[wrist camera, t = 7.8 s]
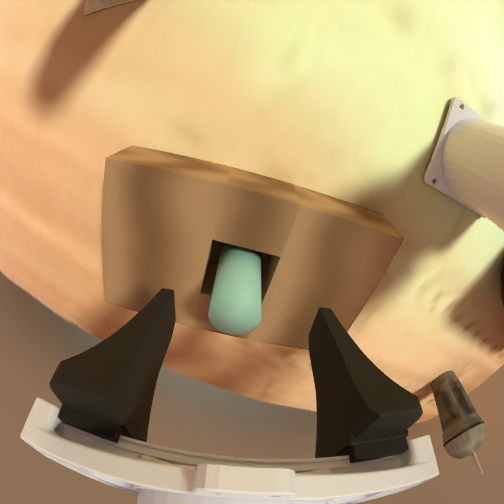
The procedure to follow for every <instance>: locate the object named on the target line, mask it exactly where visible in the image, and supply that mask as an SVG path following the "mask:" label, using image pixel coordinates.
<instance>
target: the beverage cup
mask: <svg viewBox="0 0 504 504" xmlns="http://www.w3.org/2000/svg"><path fill="white" fill-rule="evenodd" d="M432 389H433V394H434V397H435V401H436V405H437V409H438V413H439V417H440V421H441V425H442V430H443V442H444V445H443V446H444V447H445V449H446V451H447V453H448V454H449V455H450V456H452V457H454V458H458V459H462V458H466V457H468V456H470V455H471V454H472V456H473V458H474V461H475V463H476V465H477V468H478V471H479V473H480V475H483V471H482V469H481V466H480V464H479V461H478V459H477V456H476V454H475V452H476V451H477V449H479V447H480V446H481V444H482V442H483V439H484V435H485V429H484V421H482V419H481V417H480V416H479V414H478V413H477V412H476V410H475V408H474V406H473V405H472V403H471V401H470V399H469V397H468V395H467V393H466V392H465V390H464V388H463V386H462V384H461V383H460V381H459V379H458V378H457V377H456V375H455V374H454V372H453V371H448V372H446V373H443V374H442V375H440V376H439V377H437V378H436V379H435V380H434V381H433V382H432Z"/></svg>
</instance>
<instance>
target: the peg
mask: <svg viewBox="0 0 504 504" xmlns="http://www.w3.org/2000/svg"><path fill="white" fill-rule="evenodd" d="M208 318H209V320H210V322H211V324H212V325H213V326H214V327H215V328H216V329H218V330H219V331H221V332H224V333H227V334H232V335H242V334H246V333H249V332H251V331H253V330H255V329H256V328H257V327H258V326H259V324H260V322H261V252H259V251H255V250H251V249H247V248H243V247H239V246H236V245H232V244H228V243H224V242H223V245H222V249H221V254H220V259H219V263H218V268H217V273H216V277H215V282H214V287H213V292H212V297H211V302H210V307H209V312H208Z"/></svg>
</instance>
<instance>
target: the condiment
mask: <svg viewBox="0 0 504 504" xmlns="http://www.w3.org/2000/svg"><path fill="white" fill-rule="evenodd" d="M132 1H136V0H85V5H84V9H83V16H84V15H87V14H89V13H92V12H96V11H99V10H101V9H104V8H108V7H112V6H115V5H119V4H123V3H127V2H132Z"/></svg>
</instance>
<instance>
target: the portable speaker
mask: <svg viewBox="0 0 504 504" xmlns="http://www.w3.org/2000/svg"><path fill="white" fill-rule="evenodd" d="M501 298H502V302H503V305H504V266H503V269H502V274H501Z"/></svg>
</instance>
